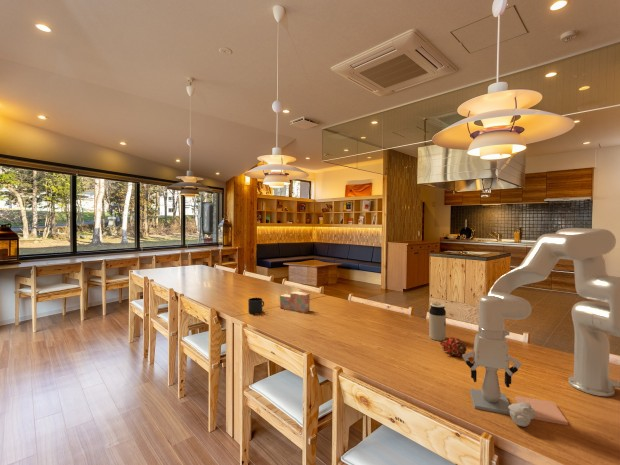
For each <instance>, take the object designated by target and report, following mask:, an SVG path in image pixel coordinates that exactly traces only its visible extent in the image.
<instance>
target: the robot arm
mask: <svg viewBox="0 0 620 465" xmlns="http://www.w3.org/2000/svg"><path fill="white" fill-rule="evenodd" d="M616 243H617V240H616V235H615V234H614V233H613V232H612V231H610V230H609V229H605V228H589V227H588V228H582V227H568V228H567V227H566V228H561V229H558V230H557V231H556V232H555V233H544V234H542V235H540V236H538V238H537V239H536V240H535V242H534V244H533V245H532V247H531V248H530V250H529V251H528V253H527V254H526V256H525V257H524V259H523V261H522V262H521V263H520V264H519V266H517V267H515V268H513V269H512V270H509V271H507V272H506V273H505V274H503V275H502V276H501V275H500V277H499V278H497V279H496V280H495V282H493V284H492V286H491V287H490V289H489V291H488V292H487V294H486V295H481V296H480V297H479V299H478V331H477V332H478V333H476V334H475V335H474V341H473V350H472V351H471V350H470V351H468V352H466V353H465V354H463V355H461V356H462V359H463V361H464V362H465V364H466V365H467V366H468V367H469V369H470V378H471V379H472V380H473V382H474V383H477V382H478V381H477V378H478V377H477V372H478V371H477V368H479V367H484V368H485V367H494V368H497V369H498V370H504V371H505V372H504V385H505V386H506V387H507V388H510V385H512V376H513V375H514V374H515V373H517V372H518V371H519V369H520V368H521V366H522V363H521V361H519V360H518V359H516V358H514V357H513V356H511V355H510V353H509V347H508V346H509V345H508V340H507V337H506V336H510V331H508V330H505V320H506V319H510V320H518V321H519V320H520V321H521V320H524V319H526V318H528V317H530V315H531V313H532V310H533V308H532V305H531V302H529V301H528V300H527V299H526V298H523V297H520V296H517V295H514V294H511V293H512V292H513V291H514V290H515V289H517V288H519V287H521V286H525V285H529V284H533V283H534V284H535V283H540V282H543V281H545V280H547V278H548V277H549V275H551V272H552V271H553V269H554V268H555V267H556V265H557V263H558V262H559V260H561V259H562V260H567V261H568V260H570V261H573V268H574V269H573V270H574V271H573V272H574V273H573V274H574V286H575V291H576V293H577V295H578V296H579V297H581V298H584V299H588V300H591V301H588V300H587V301H586V300H581V301H578V302H576V303H575V304H574V305H573V306H572V308H571V310H570V311H571V319H572V322H573V323H572V324H573V330H574V331H573V332H574V345H573V346H574V347H573V348H574V349H573V350H574V351H573V375H571V376H569V377H568V380H567V381H568V383H569V385H570V386H572V388H575V389H577V390H579V391H581V392H583V393H587V394H588V395H589V394H590V395H594V396H599V397H613V396H615V388H619V389H620V381H618V380H617V379H613V378H612V379H611V378H610V353H611V352H610V350H611V348H610V347H611V345H610V341H609V338H608V336H607V335H611V336H615V337H618V338H620V276H614V275H613V276H612V275H608V274H607V269H606V268H607V267H606V259H605V258H604V255H606V254H609V253H610V252H612V250H614V248H615V247H616ZM594 301H597V302H594ZM600 302H601V303H600ZM602 303H605V304H602ZM607 304H608V305H607ZM469 358H473V361H472V362H471V361H470V360H469ZM510 362H511V363H513V365H512V366H511V367H510Z"/></svg>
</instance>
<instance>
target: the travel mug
mask: <svg viewBox="0 0 620 465" xmlns="http://www.w3.org/2000/svg"><path fill="white" fill-rule="evenodd" d="M429 305H430V308H429V310H428V312H429V314H428V315H429V318H428V319H429V320H428V324H429V325H428V327H429V328H428V329H429V330H428V332H429V333H428V334H429V335H428V337H429V338H430V339H431V340H433V341H438V342H439V341H440V342H442V341H445V340H447V339H446V338H447V336H446V334H447V330H446V329H447V328H446V325H447V324H446V323H447V320H446V319H447V317H446V316H447V314H446V313H447V312H446V311H447V310H446V309H445V308H446V304H445V303H440V302H431V303H429Z"/></svg>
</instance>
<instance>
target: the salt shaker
mask: <svg viewBox="0 0 620 465" xmlns="http://www.w3.org/2000/svg"><path fill="white" fill-rule="evenodd" d="M484 369H485V372H484V377H483V382H482V385H481V389H480V390H481V392H482V394H483V397H484V399H485V400H486V401H488V402H490V403H496V402H498V400H499V399H500V397H501V394H502V392H501V386H500V382H499V376H498V371H499V369H497V368H494V367H484Z"/></svg>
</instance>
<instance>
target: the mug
mask: <svg viewBox="0 0 620 465" xmlns="http://www.w3.org/2000/svg"><path fill="white" fill-rule="evenodd" d="M247 302H248V314H250V315H258V314H262V313H263V307H264V306H265V302H264V300H263V298H261V297H251V298H249V299H248V300H247Z"/></svg>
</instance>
